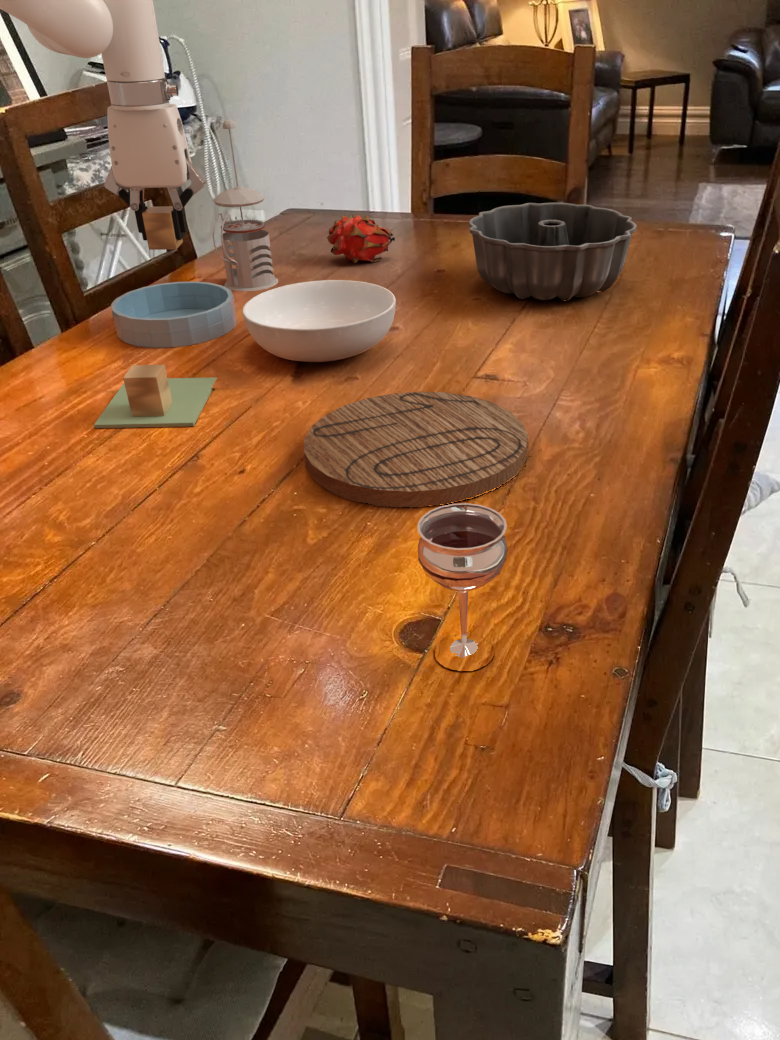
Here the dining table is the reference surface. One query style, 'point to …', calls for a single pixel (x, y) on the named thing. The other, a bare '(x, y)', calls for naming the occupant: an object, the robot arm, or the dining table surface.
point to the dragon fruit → (359, 238)
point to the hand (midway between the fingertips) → (164, 236)
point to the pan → (174, 314)
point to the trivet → (415, 449)
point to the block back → (160, 228)
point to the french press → (244, 239)
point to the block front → (148, 390)
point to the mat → (182, 412)
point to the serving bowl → (320, 319)
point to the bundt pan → (551, 249)
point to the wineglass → (462, 554)
